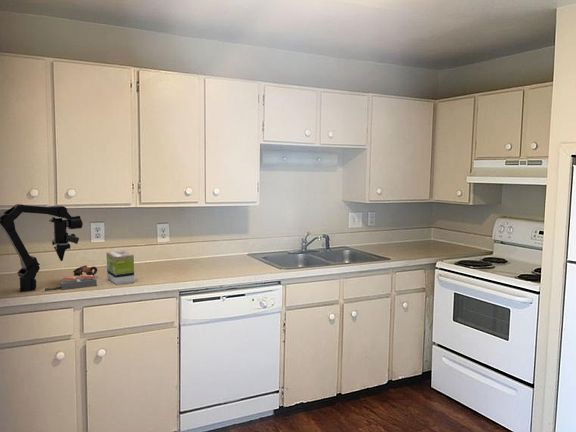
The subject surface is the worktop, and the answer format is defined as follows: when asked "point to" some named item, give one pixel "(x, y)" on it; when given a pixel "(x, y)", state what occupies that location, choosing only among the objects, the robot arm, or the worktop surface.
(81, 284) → the power strip
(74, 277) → the rocker left
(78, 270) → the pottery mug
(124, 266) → the tea box
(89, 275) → the rocker right
